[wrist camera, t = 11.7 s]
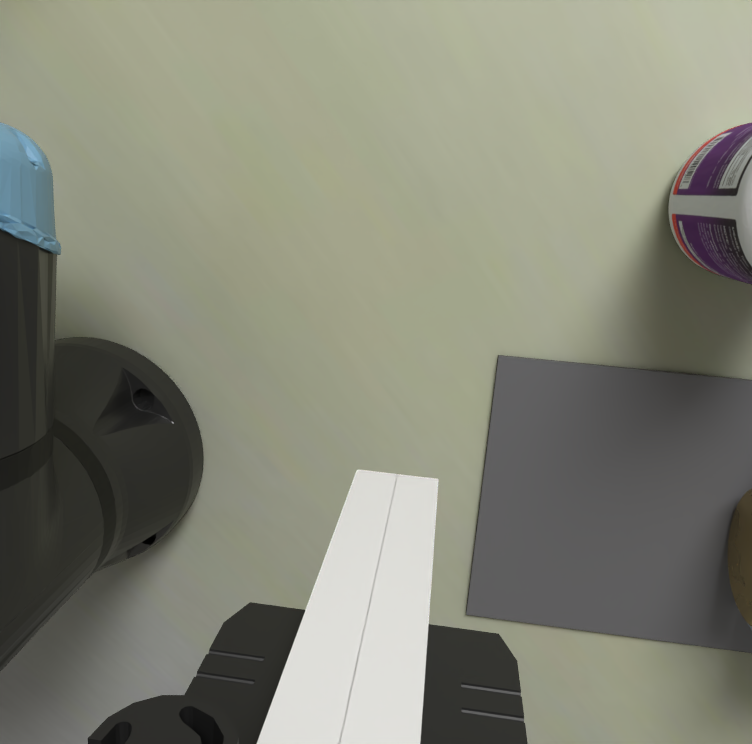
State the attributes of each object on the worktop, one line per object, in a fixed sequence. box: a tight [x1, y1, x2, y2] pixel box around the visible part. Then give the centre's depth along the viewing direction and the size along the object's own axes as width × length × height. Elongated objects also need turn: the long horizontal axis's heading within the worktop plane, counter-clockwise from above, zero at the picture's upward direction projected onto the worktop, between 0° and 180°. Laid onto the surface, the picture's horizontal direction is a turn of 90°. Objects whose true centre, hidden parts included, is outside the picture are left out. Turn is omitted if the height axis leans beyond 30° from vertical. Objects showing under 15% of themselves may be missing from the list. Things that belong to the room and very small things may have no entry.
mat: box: [466, 355, 752, 653], centre depth 42 cm, size 28×18×1 cm, turn 86°
